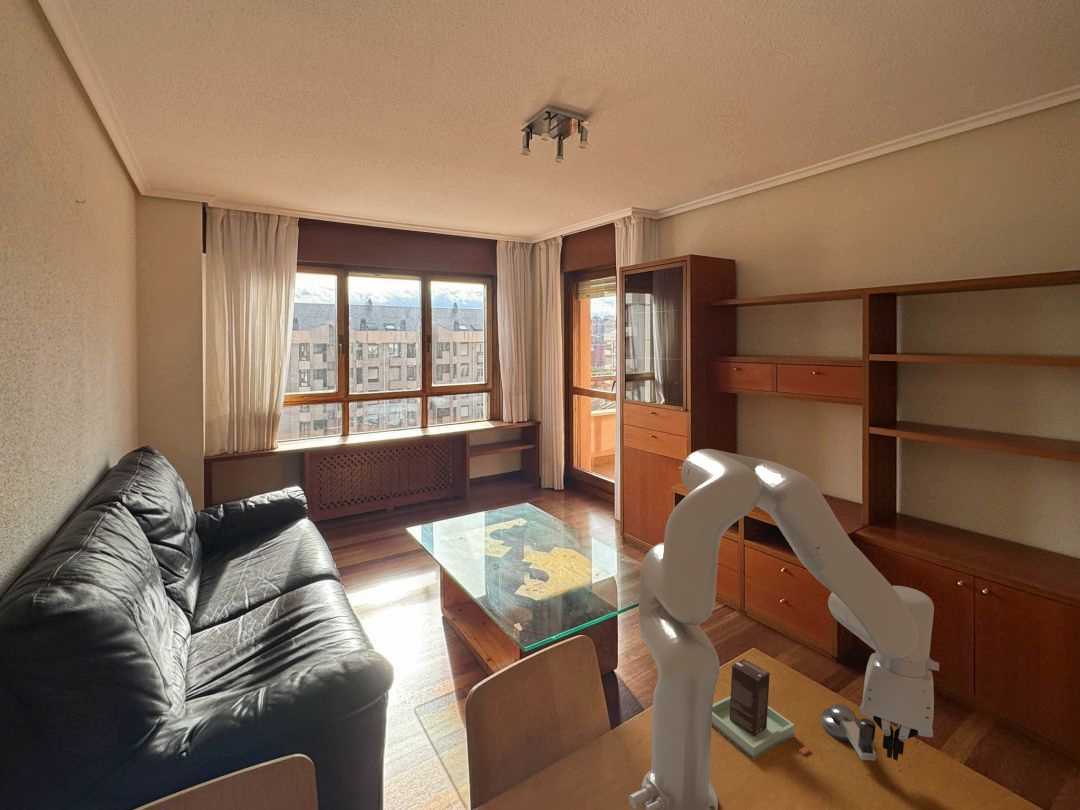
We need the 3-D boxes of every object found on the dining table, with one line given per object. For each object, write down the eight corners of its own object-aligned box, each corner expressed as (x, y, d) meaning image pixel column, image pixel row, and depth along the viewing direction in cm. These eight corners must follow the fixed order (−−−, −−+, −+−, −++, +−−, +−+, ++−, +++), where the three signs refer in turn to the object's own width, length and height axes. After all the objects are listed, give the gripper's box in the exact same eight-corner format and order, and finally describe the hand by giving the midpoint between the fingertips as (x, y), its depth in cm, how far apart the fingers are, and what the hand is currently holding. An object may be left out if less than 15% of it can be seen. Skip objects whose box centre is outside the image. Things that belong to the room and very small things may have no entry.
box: (767, 727, 104) (771, 672, 103) (754, 737, 102) (757, 681, 100) (741, 710, 109) (743, 657, 107) (727, 719, 106) (730, 665, 105)
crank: (827, 711, 107) (829, 682, 106) (848, 712, 106) (850, 684, 105) (856, 759, 95) (859, 727, 94) (880, 761, 94) (883, 728, 93)
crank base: (818, 766, 96) (819, 757, 95) (785, 741, 102) (785, 731, 101) (869, 734, 103) (870, 725, 103) (835, 712, 109) (835, 703, 109)
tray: (752, 760, 97) (753, 747, 97) (704, 719, 108) (704, 708, 107) (793, 736, 103) (794, 724, 103) (744, 699, 113) (744, 688, 113)
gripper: (953, 662, 90) (943, 758, 92) (852, 635, 98) (845, 724, 100) (958, 687, 83) (946, 789, 86) (850, 655, 92) (842, 749, 94)
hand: (892, 753), depth 93 cm, fingers closed
